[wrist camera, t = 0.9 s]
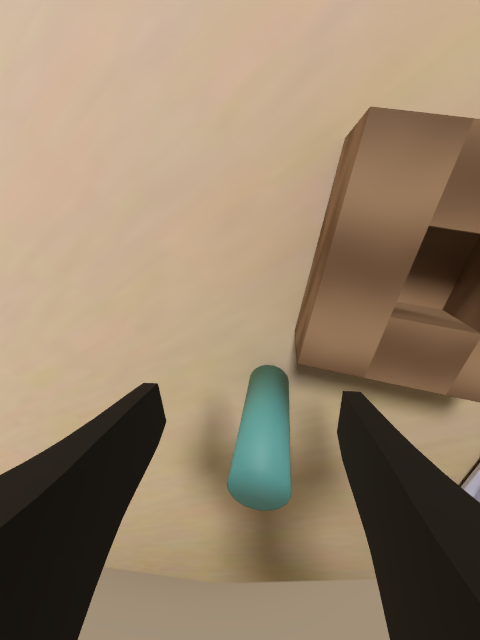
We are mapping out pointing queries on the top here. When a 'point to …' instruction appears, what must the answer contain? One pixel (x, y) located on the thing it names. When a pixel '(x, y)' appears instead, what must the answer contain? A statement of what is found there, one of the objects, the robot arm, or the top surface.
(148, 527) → the top surface
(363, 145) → the socket block
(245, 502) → the peg
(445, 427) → the top surface
